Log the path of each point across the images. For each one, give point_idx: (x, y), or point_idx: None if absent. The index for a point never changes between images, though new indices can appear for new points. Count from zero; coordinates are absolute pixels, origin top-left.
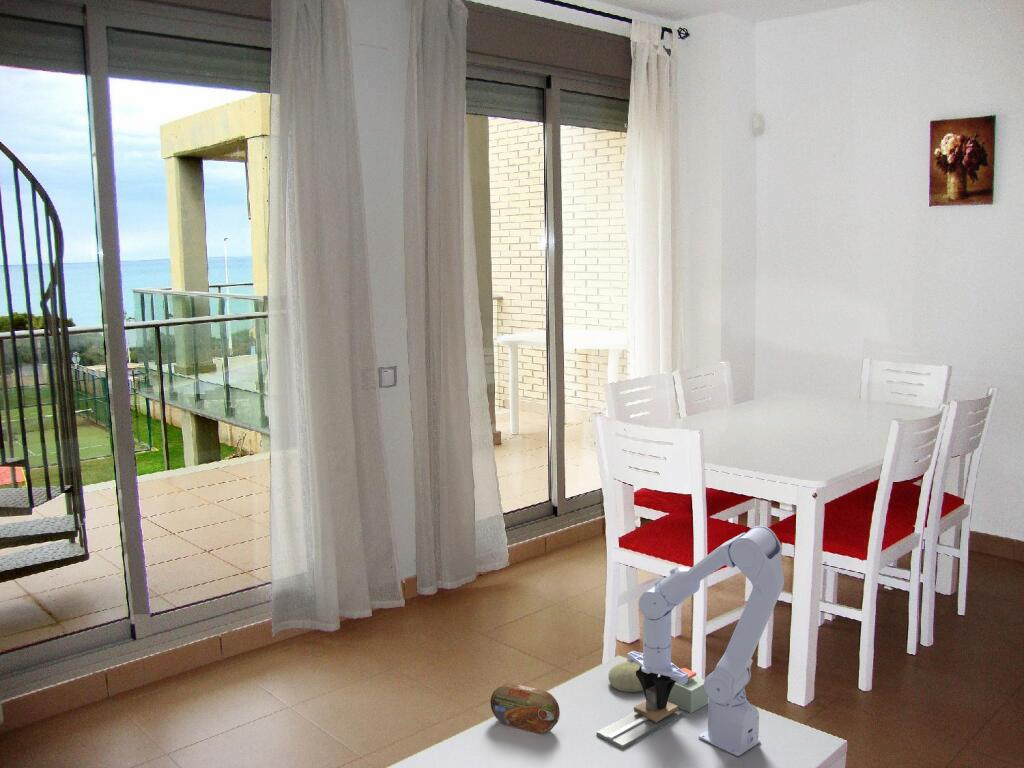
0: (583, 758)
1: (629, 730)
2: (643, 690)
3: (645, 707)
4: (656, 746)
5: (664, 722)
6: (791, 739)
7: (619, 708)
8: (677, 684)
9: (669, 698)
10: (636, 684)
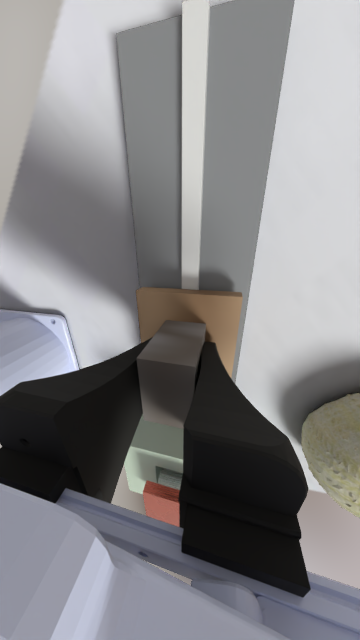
0: None
1: (179, 177)
2: (222, 366)
3: (205, 321)
4: (83, 199)
5: None
6: None
7: (318, 301)
8: (171, 457)
9: None
10: (328, 426)
